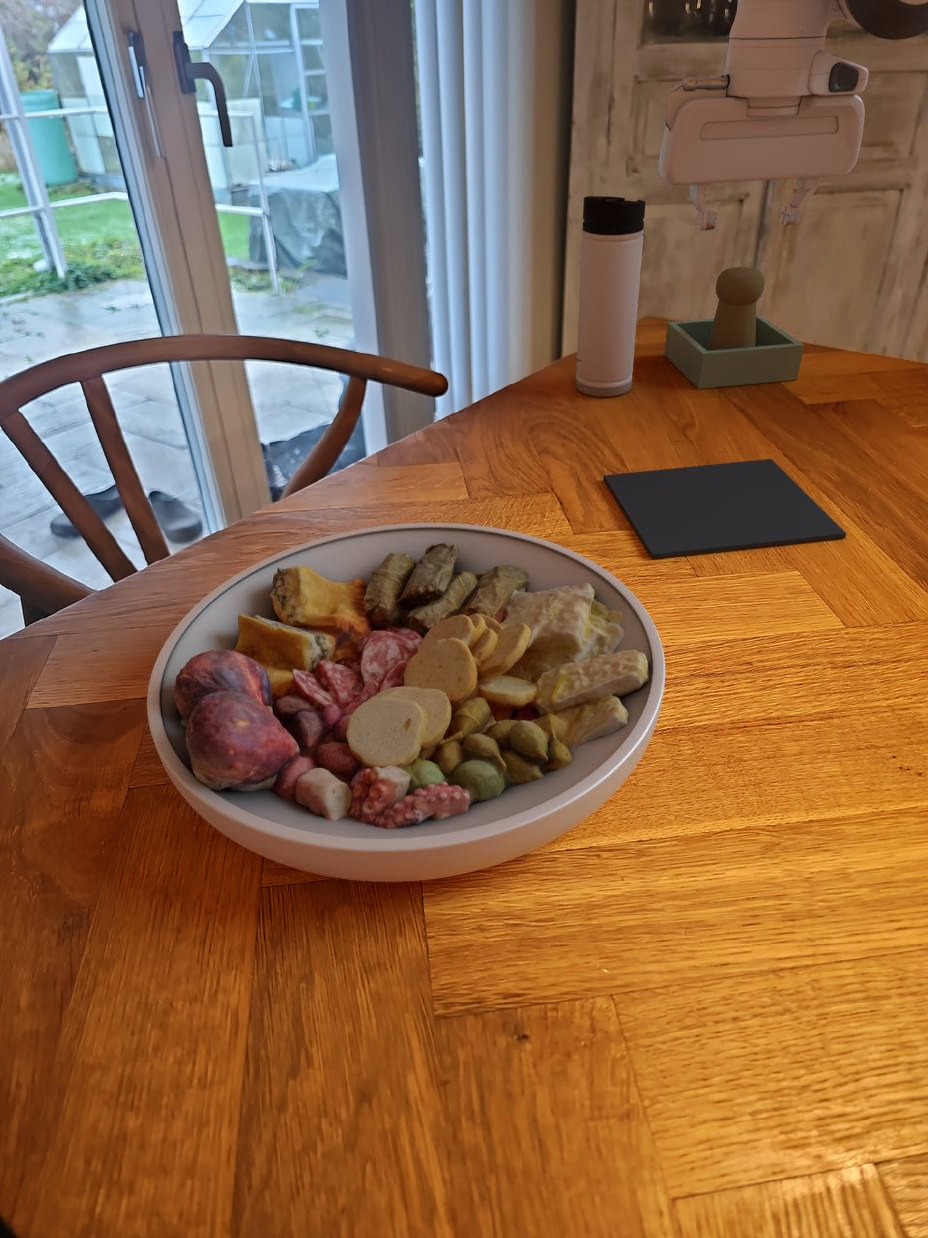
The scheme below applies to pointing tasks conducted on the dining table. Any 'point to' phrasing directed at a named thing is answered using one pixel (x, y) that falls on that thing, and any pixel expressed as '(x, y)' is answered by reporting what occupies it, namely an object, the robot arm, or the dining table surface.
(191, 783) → the bowl
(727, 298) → the brown tapered knobbed piece
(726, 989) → the dining table surface
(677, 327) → the box
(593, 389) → the travel mug
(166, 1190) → the dining table surface
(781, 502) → the mat
